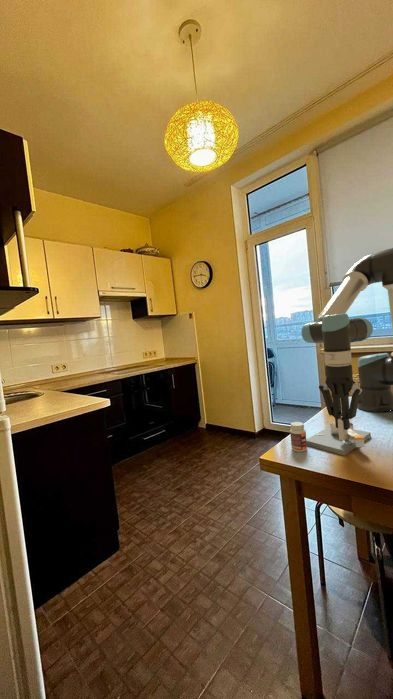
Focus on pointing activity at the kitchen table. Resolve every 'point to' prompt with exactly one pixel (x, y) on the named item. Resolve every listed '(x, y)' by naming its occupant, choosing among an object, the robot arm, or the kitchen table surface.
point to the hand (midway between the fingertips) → (343, 438)
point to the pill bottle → (298, 437)
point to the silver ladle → (349, 435)
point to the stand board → (334, 441)
